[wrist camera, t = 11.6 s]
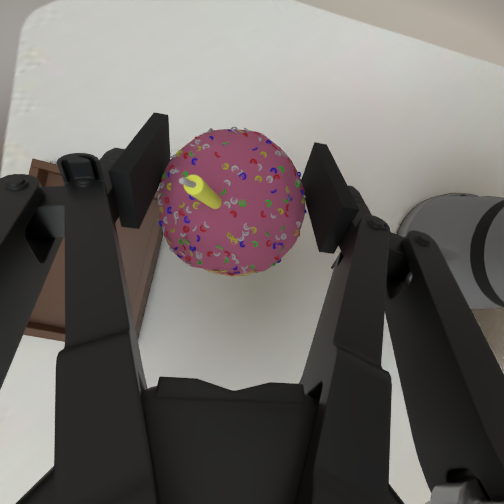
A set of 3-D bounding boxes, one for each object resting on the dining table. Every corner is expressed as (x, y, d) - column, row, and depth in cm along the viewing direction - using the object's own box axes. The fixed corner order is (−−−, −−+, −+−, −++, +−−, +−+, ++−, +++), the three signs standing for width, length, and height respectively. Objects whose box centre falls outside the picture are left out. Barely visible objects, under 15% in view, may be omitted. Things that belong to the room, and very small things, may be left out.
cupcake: (195, 286, 19) (160, 348, 7) (154, 178, 19) (44, 53, 7) (300, 247, 20) (418, 245, 8) (263, 143, 20) (333, -17, 8)
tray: (47, 165, 28) (32, 158, 26) (171, 197, 30) (168, 193, 28) (8, 322, 28) (-11, 328, 26) (136, 345, 30) (129, 353, 27)
